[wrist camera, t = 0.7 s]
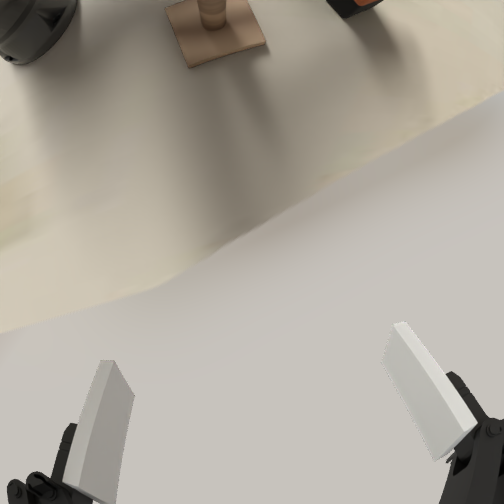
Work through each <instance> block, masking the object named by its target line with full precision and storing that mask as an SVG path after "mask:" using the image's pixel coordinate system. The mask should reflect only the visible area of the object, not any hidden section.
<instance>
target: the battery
mask: <svg viewBox="0 0 504 504" xmlns="http://www.w3.org/2000/svg"><path fill="white" fill-rule="evenodd" d="M327 1H328V2H329V3H330V4H331V6H332V7H333V8H334V9H335V10H336V11H337V12H338V13H339V14H340V16H341V17H342V18H348V17H350V16H353V15H355V14H358V13H360V12H362V11H365V10H367V9H370V8H372V7H374V6H375V5H377V4H378V3H380V2H381V1H383V0H327Z"/></svg>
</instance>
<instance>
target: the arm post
mask: <svg viewBox="0 0 504 504" xmlns="http://www.w3.org/2000/svg"><path fill="white" fill-rule="evenodd" d="M165 11H166V13H167V16H168V18H169V21H170V23H171V26H172V28H173V31H174V33H175V36H176V38H177V41H178V43H179V45H180V48H181V50H182V53H183V55H184V58H185V60H186V63H187V65H188V67H189V68H192V67H194V66H197V65H200V64H202V63H205V62H208V61H211V60H214V59H217V58H220V57H223V56H226V55H229V54H232V53H235V52H239V51H242V50H246V49H249V48H253V47H257V46H261V45H264V44H265V42H266V40H265V38H264V36H263V34H262V31H261V29H260V27H259V25H258V23H257V21H256V18H255V16H254V14H253V12H252V10H251V8H250V6H249V4H248V2H247V0H185V1H182V2H180V3H177V4H174V5H172V6H169V7H167V8H165Z"/></svg>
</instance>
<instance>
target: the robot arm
mask: <svg viewBox="0 0 504 504" xmlns="http://www.w3.org/2000/svg"><path fill="white" fill-rule="evenodd" d="M76 4H77V0H0V56H1V57H2V58H3V59H5V60H6V61H8V62H10V63H15V64H26V63H29V62H31V61H33V60H35V59H37V58H39V57H40V56H41V55H43V54H44V53H45V52H46V51H47V50H49V49H50V48H51V47H52V46H53V45H54V44H55V42H56V41H57V40H58V39H59V38H60V36H61V35H62V34H63V32H64V31H65V29H66V28H67V26H68V25H69V23H70V21H71V19H72V17H73V14H74V12H75V8H76ZM381 364H382V365H383V367H384V369H385V371H386V372H387V374H388V376H389V377H390V379H391V381H392V382H393V384H394V386H395V388H396V390H397V392H398V393H399V395H400V397H401V399H402V401H403V403H404V404H405V406H406V408H407V410H408V412H409V413H410V415H411V417H412V419H413V421H414V423H415V425H416V427H417V429H418V431H419V433H420V435H421V436H422V438H423V440H424V442H425V444H426V446H427V448H428V450H429V452H430V454H431V456H432V458H433V460H434V461H436V460H438V459H440V458H442V457H443V456H445V455H447V454H448V453H449V452H450V451H451V450H452V449H453V448H454V450H455V452H454V453H453V454H452V455H451V456H450V457H449V458H448V459H447V461H446V463H448V462H449V461H451V460H452V462H451V466H450V470H449V474H448V478H447V481H446V484H445V487H444V490H443V493H442V496H441V499H440V502H439V504H504V419H502V420H498V419H495V418H489V417H488V416H487V415H486V414H485V412H484V411H483V409H482V408H481V406H480V405H479V403H478V402H477V400H476V399H475V397H474V396H473V395H472V393H470V390H469V389H468V388H467V387H466V385H465V383H464V382H463V380H462V379H461V378H460V377H459V376H458V375H456V374H455V373H453V372H452V371H451V372H449V373H447V374H445V373H444V372H443V370H442V369H441V368H440V366H439V365H438V364H437V362H436V361H435V359H434V358H433V357H432V355H431V354H430V353H429V351H428V350H427V349H426V347H425V346H424V345H423V343H422V342H421V341H420V340H419V338H418V337H417V336H416V334H415V333H414V332H413V331H412V329H411V328H410V327H409V325H408V324H407V323H406V322H405V321H404V322H400V323H397V324H392V328H391V332H390V335H389V339H388V343H387V346H386V349H385V352H384V355H383V359H382V362H381ZM134 396H135V395H134V393H133V392H132V390H131V388H130V387H129V385H128V384H127V382H126V380H125V379H124V377H123V375H122V373H121V372H120V370H119V368H118V366H117V365H116V363H115V361H114V360H101V361H100V364H99V366H98V369H97V371H96V374H95V376H94V379H93V382H92V385H91V387H90V390H89V393H88V395H87V398H86V401H85V404H84V407H83V410H82V413H81V416H80V419H79V422H78V424H74V423H70V425H69V426H68V427H67V428H66V430H65V431H64V434H63V437H62V442H61V443H60V447H59V449H60V450H59V451H58V454H57V457H56V461H55V464H54V468H53V472H52V476H51V478H49V477H47V476H46V475H44V474H43V473H41V472H37V471H36V472H33V473H31V474H30V475H29V476H28V477H27V479H26V484H24V483H23V482H21V481H19V480H17V479H13V480H11V481H10V482H9V484H8V486H7V495H8V502H9V504H92V503H93V500H94V501H96V502H98V503H100V504H116V496H117V488H118V481H119V475H120V468H121V462H122V455H123V450H124V445H125V439H126V434H127V429H128V424H129V419H130V415H131V410H132V406H133V401H134Z"/></svg>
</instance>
